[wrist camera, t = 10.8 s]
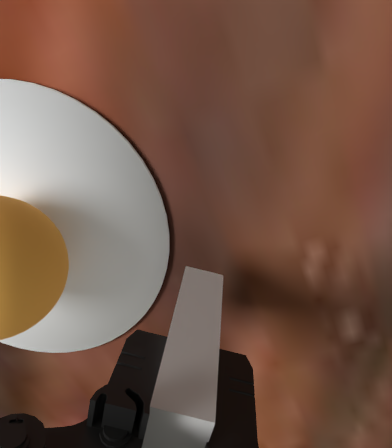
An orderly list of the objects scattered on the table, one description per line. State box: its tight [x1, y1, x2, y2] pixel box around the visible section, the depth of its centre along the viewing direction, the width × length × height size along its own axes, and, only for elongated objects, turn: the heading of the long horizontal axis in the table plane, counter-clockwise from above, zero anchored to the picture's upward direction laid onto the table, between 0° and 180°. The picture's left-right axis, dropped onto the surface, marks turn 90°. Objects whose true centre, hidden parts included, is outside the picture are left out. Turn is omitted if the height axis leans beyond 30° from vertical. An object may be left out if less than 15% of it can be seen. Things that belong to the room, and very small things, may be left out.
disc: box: [0, 79, 170, 353], centre depth 16 cm, size 13×13×1 cm
